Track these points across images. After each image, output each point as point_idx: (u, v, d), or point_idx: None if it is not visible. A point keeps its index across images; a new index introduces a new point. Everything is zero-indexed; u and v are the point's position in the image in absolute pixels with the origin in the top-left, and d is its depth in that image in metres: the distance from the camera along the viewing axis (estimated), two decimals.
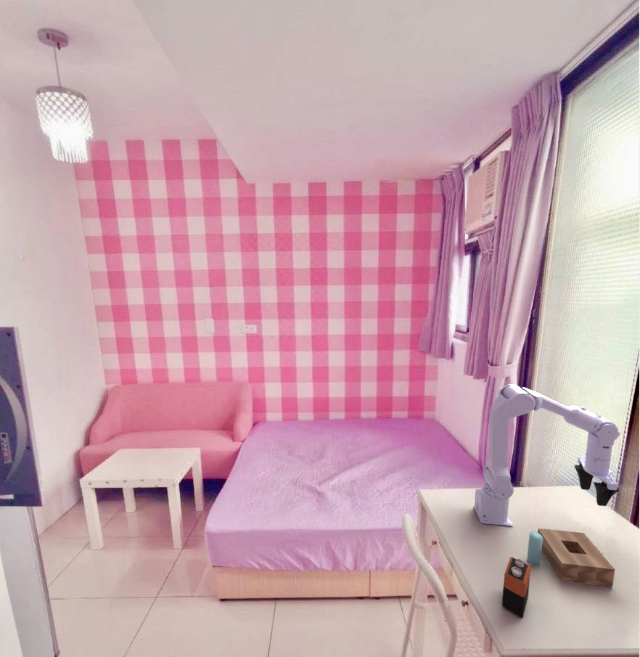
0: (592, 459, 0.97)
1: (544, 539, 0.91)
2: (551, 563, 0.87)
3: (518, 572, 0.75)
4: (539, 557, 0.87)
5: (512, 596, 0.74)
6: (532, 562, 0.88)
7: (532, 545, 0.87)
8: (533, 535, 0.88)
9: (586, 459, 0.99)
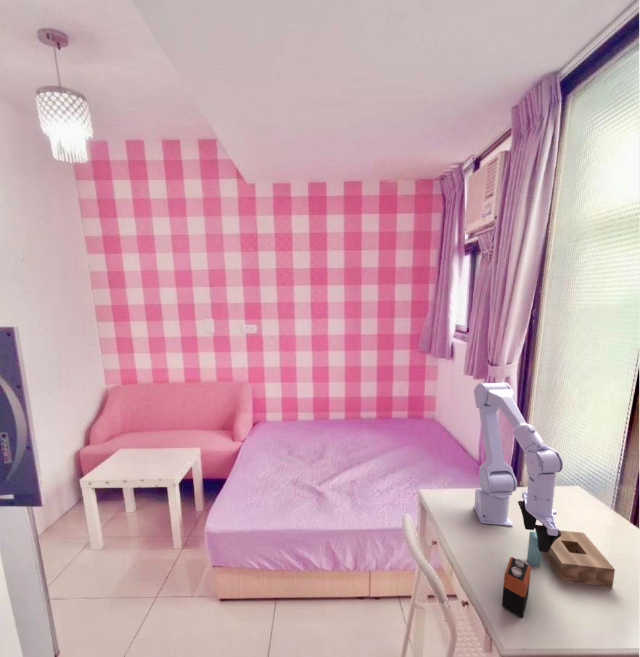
0: (533, 497, 0.85)
1: None
2: (551, 563, 0.87)
3: (518, 572, 0.75)
4: (539, 557, 0.87)
5: (512, 596, 0.74)
6: (532, 562, 0.88)
7: (532, 545, 0.87)
8: (533, 535, 0.88)
9: (527, 497, 0.87)
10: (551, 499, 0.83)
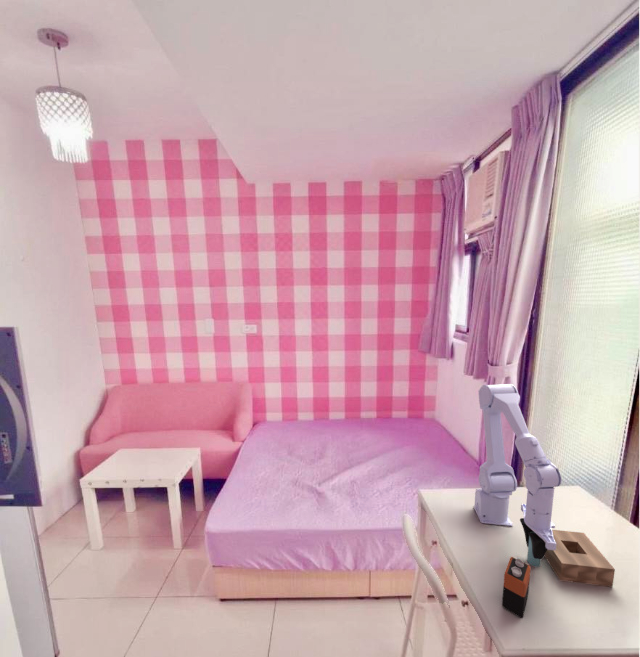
0: (531, 511, 0.85)
1: None
2: (551, 563, 0.87)
3: (518, 572, 0.75)
4: None
5: (512, 596, 0.74)
6: (532, 562, 0.88)
7: None
8: None
9: (526, 510, 0.87)
10: (550, 513, 0.84)
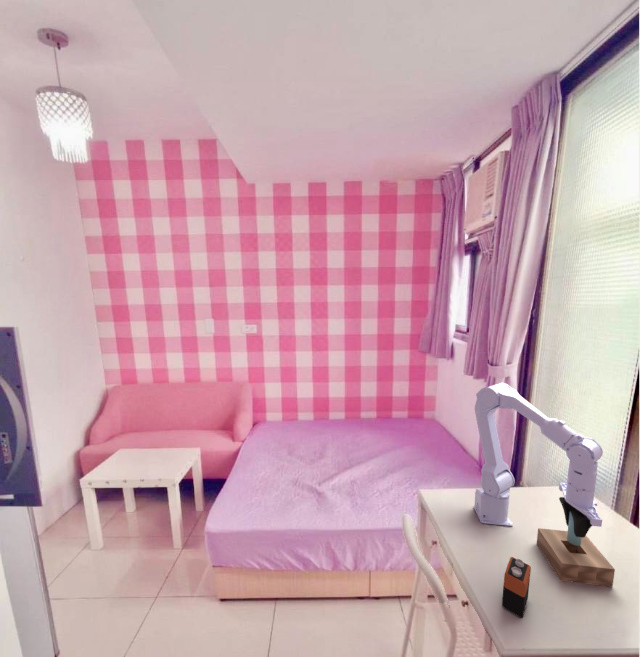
0: (574, 488, 0.84)
1: (544, 539, 0.91)
2: (551, 563, 0.87)
3: (518, 572, 0.75)
4: None
5: (512, 596, 0.74)
6: (573, 541, 0.86)
7: (573, 524, 0.86)
8: None
9: (567, 488, 0.86)
10: (593, 490, 0.82)
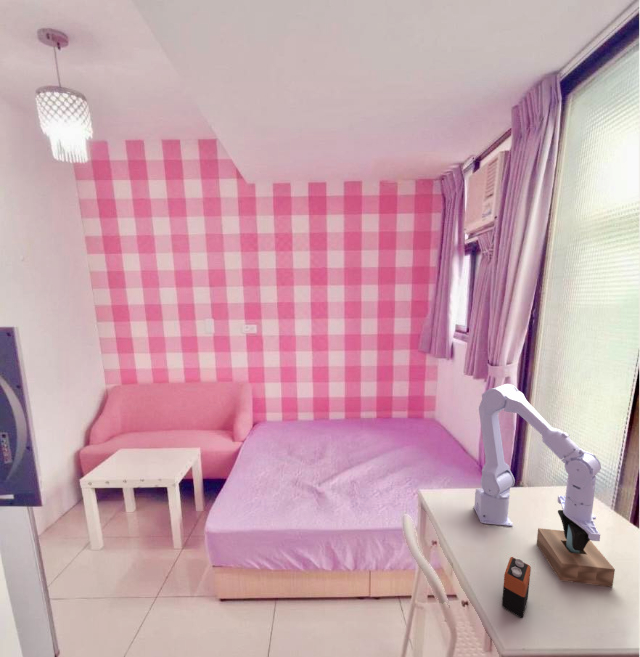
0: (572, 502, 0.84)
1: (544, 539, 0.91)
2: (551, 563, 0.87)
3: (518, 572, 0.75)
4: None
5: (512, 596, 0.74)
6: None
7: None
8: None
9: (566, 501, 0.86)
10: (591, 504, 0.83)
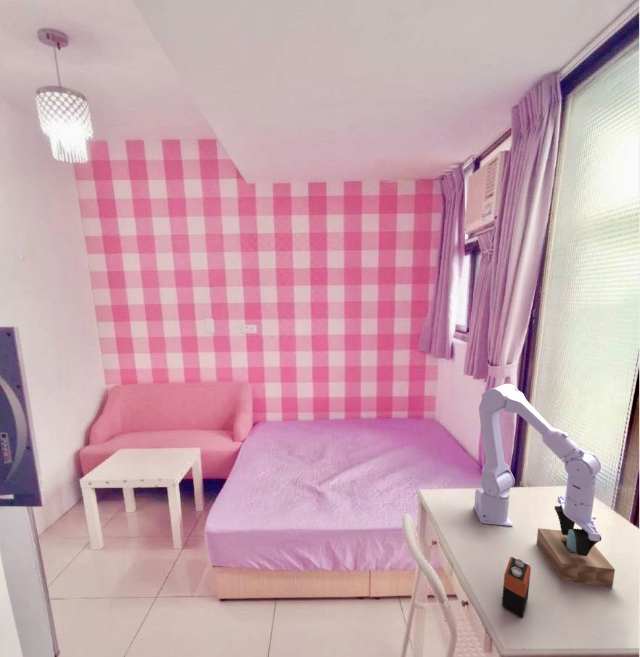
0: (572, 502, 0.84)
1: (544, 539, 0.91)
2: (551, 563, 0.87)
3: (518, 572, 0.75)
4: None
5: (512, 596, 0.74)
6: None
7: (572, 543, 0.86)
8: (572, 533, 0.87)
9: (566, 501, 0.86)
10: (591, 504, 0.83)
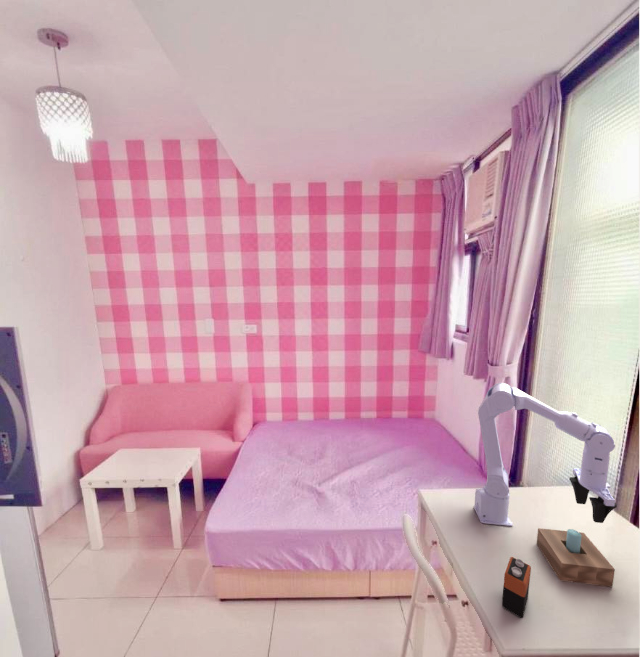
0: (588, 472, 0.90)
1: (544, 539, 0.91)
2: (551, 563, 0.87)
3: (518, 572, 0.75)
4: None
5: (512, 596, 0.74)
6: None
7: (571, 543, 0.86)
8: (571, 532, 0.87)
9: (582, 472, 0.92)
10: (606, 473, 0.89)
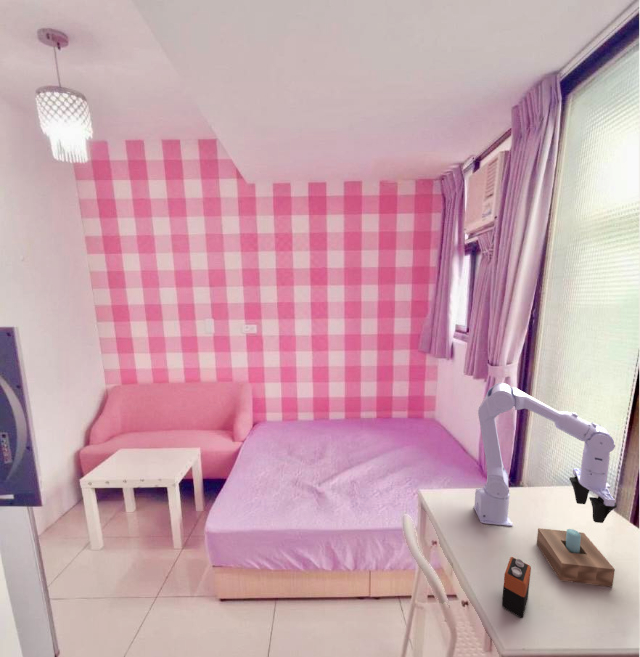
0: (588, 472, 0.90)
1: (544, 539, 0.91)
2: (551, 563, 0.87)
3: (518, 572, 0.75)
4: None
5: (512, 596, 0.74)
6: None
7: (570, 542, 0.86)
8: (571, 532, 0.87)
9: (582, 472, 0.92)
10: (606, 473, 0.89)
